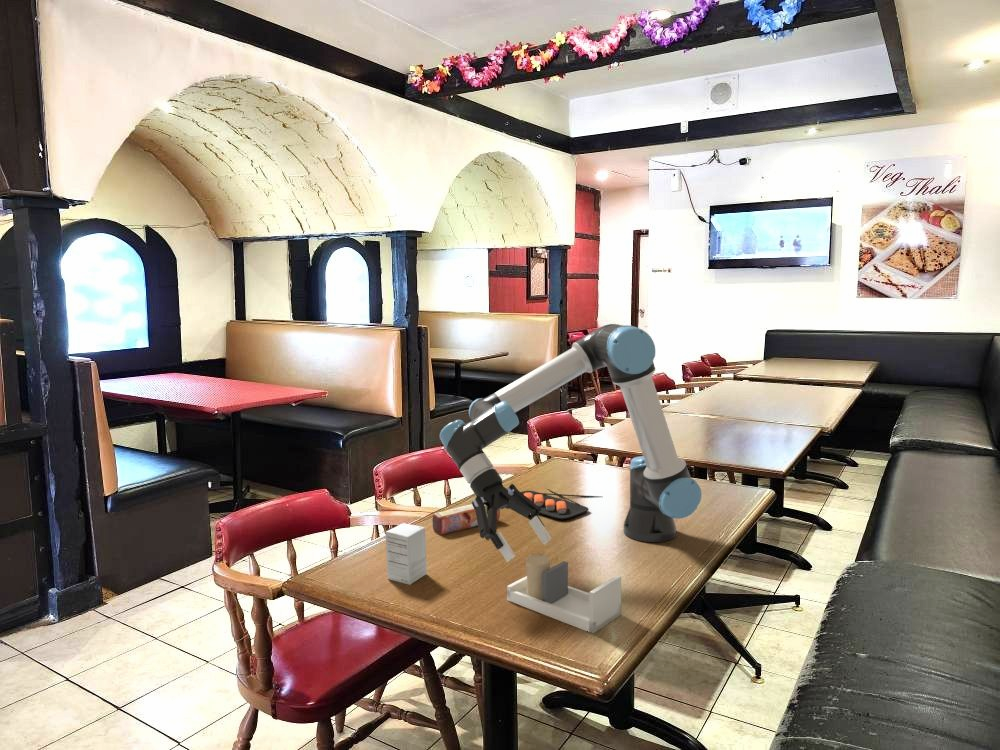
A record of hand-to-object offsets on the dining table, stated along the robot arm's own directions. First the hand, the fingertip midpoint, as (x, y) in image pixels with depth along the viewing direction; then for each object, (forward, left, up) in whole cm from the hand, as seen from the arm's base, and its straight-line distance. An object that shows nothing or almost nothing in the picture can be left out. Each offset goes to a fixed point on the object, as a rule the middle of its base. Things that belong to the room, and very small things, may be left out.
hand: (530, 550), depth 159 cm
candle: (0, +3, -11) cm, 11 cm away
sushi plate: (-61, -37, -12) cm, 73 cm away
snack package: (-24, -45, -12) cm, 52 cm away
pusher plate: (0, +7, -10) cm, 12 cm away
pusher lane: (0, +9, -11) cm, 15 cm away
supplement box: (+12, -31, -12) cm, 35 cm away
